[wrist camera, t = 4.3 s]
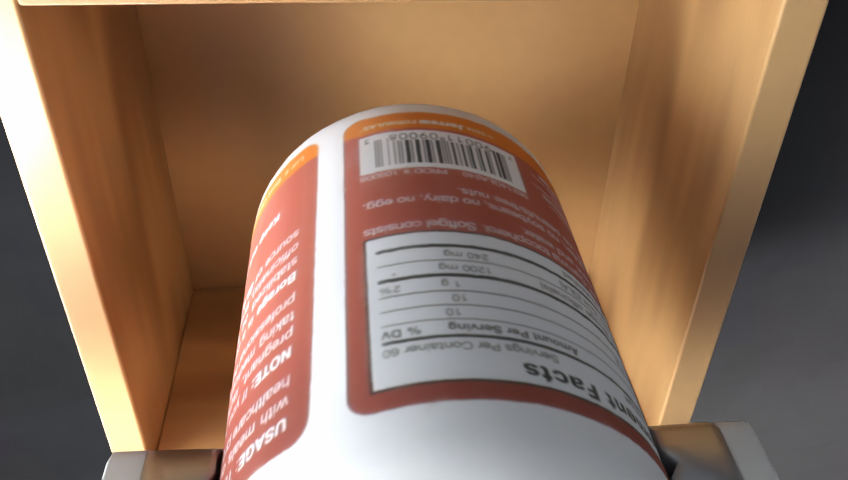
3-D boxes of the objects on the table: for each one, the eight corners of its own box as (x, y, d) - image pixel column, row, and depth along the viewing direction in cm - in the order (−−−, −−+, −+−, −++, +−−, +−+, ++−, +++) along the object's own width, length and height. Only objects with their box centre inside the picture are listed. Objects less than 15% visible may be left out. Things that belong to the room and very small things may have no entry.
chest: (77, -152, 17) (-56, -47, 11) (687, -149, 18) (847, -52, 13) (174, 292, 25) (123, 491, 19) (602, 275, 26) (679, 459, 20)
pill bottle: (357, 371, 19) (369, 1011, 10) (191, 185, 16) (-9, 916, 7) (600, 262, 18) (858, 901, 9) (477, 31, 14) (700, 704, 5)
